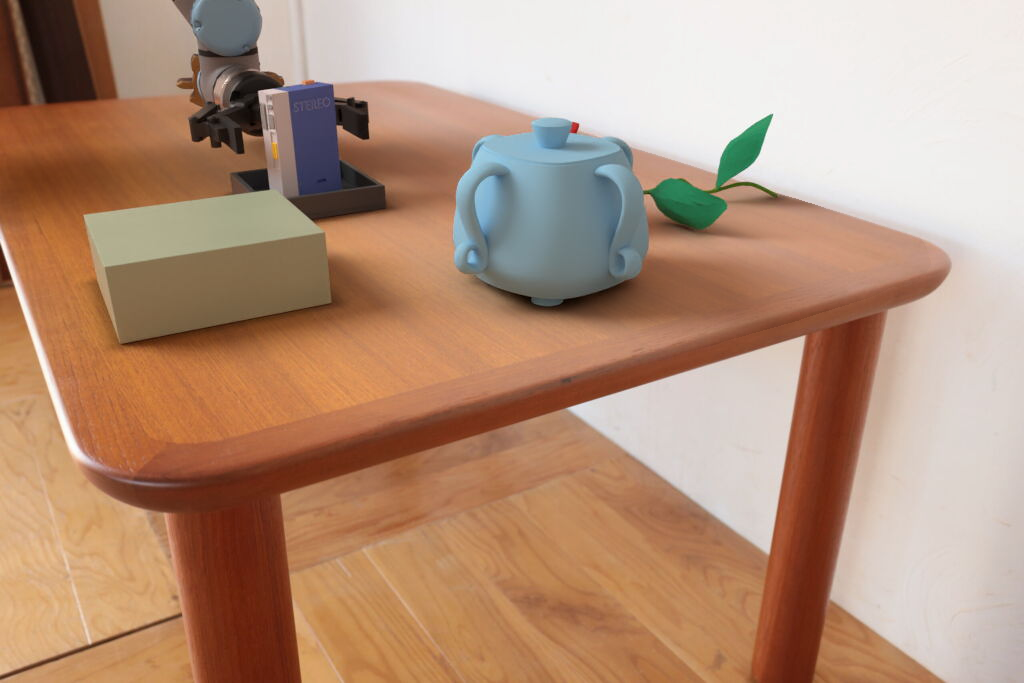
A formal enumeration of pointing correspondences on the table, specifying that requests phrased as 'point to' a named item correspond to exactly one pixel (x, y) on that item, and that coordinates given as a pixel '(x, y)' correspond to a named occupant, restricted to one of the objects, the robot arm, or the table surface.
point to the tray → (353, 197)
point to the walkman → (301, 138)
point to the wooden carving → (192, 82)
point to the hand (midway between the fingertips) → (304, 133)
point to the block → (206, 263)
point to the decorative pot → (550, 213)
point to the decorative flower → (700, 205)
